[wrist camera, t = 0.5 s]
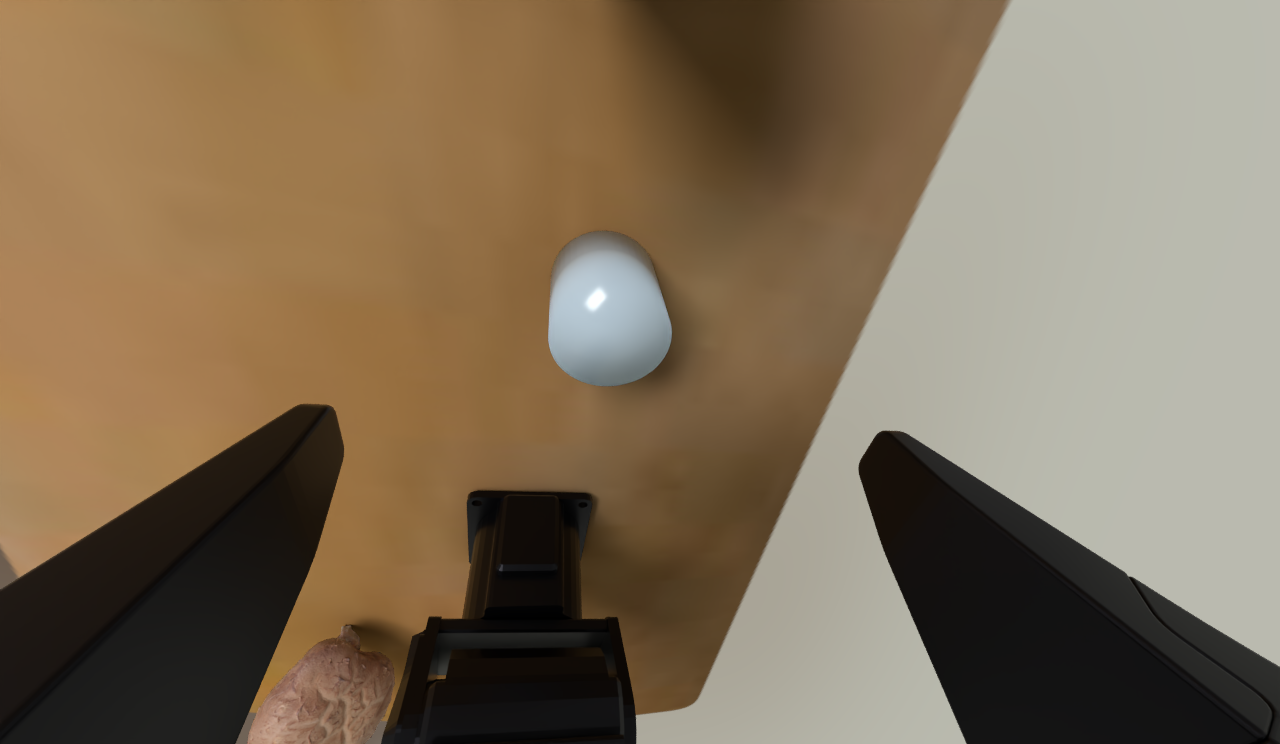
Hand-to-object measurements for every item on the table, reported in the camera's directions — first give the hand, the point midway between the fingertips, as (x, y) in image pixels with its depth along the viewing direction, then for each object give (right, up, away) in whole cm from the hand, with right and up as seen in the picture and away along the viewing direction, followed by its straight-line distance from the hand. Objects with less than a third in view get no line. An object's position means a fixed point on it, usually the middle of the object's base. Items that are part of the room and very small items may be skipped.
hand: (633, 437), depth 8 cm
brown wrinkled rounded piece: (-19, -16, +25) cm, 35 cm away
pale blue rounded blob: (-1, +5, +11) cm, 12 cm away
